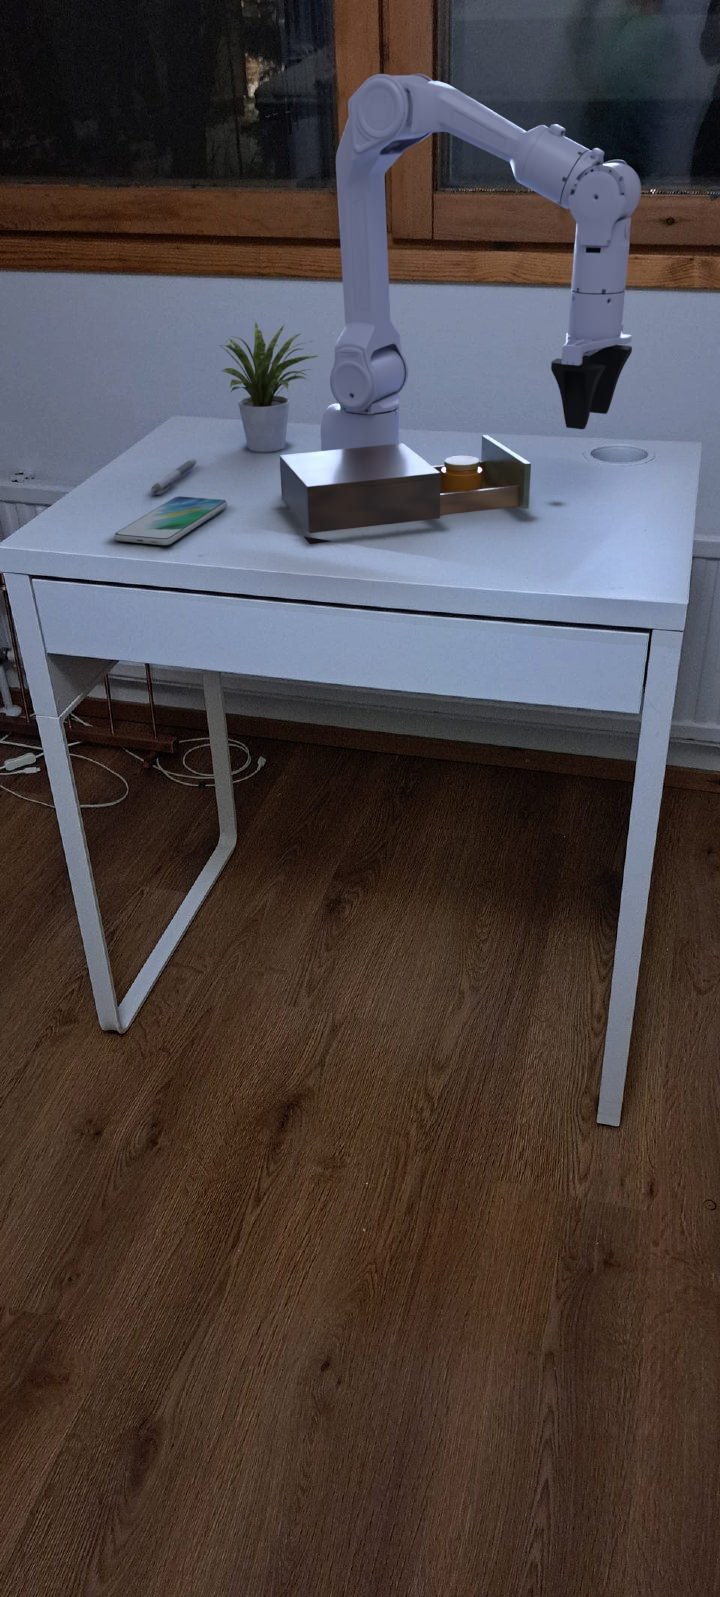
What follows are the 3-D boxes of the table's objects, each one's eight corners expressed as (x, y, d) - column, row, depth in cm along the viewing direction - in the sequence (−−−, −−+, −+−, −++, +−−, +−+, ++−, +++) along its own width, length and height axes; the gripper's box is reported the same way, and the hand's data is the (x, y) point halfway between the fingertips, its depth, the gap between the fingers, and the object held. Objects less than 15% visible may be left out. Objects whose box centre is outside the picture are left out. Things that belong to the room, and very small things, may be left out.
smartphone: (111, 534, 129) (176, 495, 140) (112, 542, 129) (177, 502, 141) (168, 540, 126) (229, 499, 138) (169, 547, 127) (230, 506, 139)
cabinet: (403, 495, 142) (403, 443, 138) (439, 529, 131) (440, 472, 127) (282, 509, 138) (279, 455, 135) (309, 544, 127) (307, 486, 124)
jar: (433, 499, 136) (434, 462, 134) (450, 488, 139) (451, 452, 137) (471, 505, 134) (472, 467, 132) (487, 493, 137) (489, 457, 135)
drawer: (494, 483, 144) (496, 434, 141) (537, 515, 133) (541, 462, 130) (370, 497, 141) (369, 446, 137) (404, 530, 130) (404, 476, 126)
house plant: (273, 469, 153) (266, 338, 144) (192, 454, 159) (181, 328, 151) (334, 444, 163) (330, 320, 154) (256, 431, 169) (248, 312, 161)
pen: (149, 498, 143) (147, 486, 142) (192, 466, 154) (191, 456, 153) (156, 498, 143) (155, 487, 142) (199, 467, 154) (198, 456, 153)
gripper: (612, 302, 117) (600, 439, 124) (654, 283, 128) (640, 409, 135) (546, 298, 120) (538, 432, 127) (592, 279, 131) (582, 403, 138)
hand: (587, 420), depth 131 cm, fingers open, 7 cm apart
